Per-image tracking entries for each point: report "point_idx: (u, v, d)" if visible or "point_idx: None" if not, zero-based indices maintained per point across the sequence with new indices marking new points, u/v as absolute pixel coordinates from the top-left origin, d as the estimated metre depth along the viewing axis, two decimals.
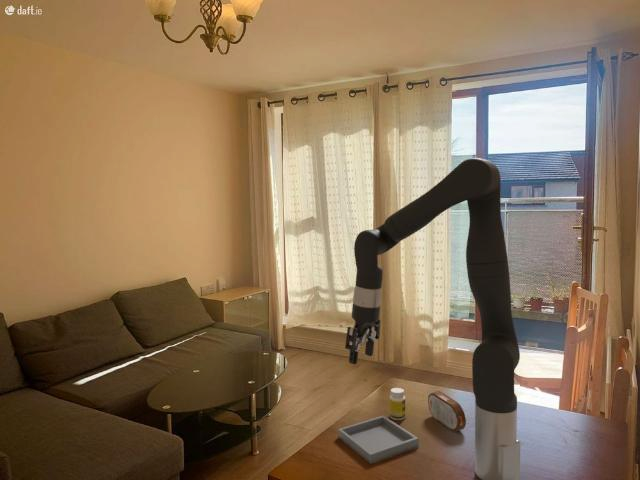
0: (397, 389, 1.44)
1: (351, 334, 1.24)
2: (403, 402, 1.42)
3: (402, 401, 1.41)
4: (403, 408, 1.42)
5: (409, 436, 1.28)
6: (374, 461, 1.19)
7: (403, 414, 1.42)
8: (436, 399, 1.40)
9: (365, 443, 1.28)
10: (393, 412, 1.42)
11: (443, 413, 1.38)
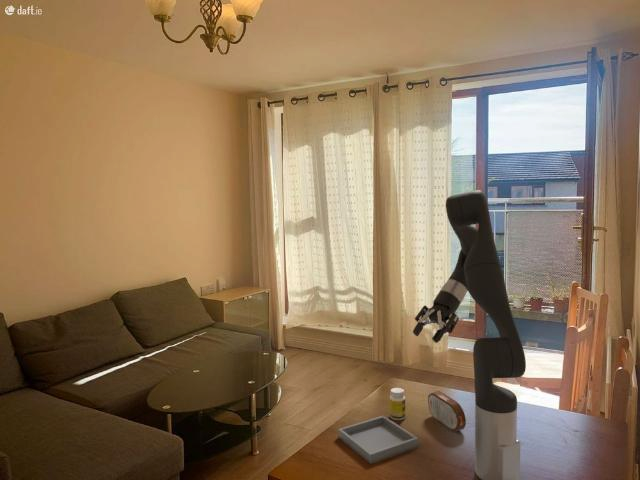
0: (397, 389, 1.44)
1: None
2: (403, 402, 1.42)
3: (402, 401, 1.41)
4: (403, 408, 1.42)
5: (409, 436, 1.28)
6: (374, 461, 1.19)
7: (403, 414, 1.42)
8: (436, 399, 1.40)
9: (365, 443, 1.28)
10: (393, 412, 1.42)
11: (442, 413, 1.38)
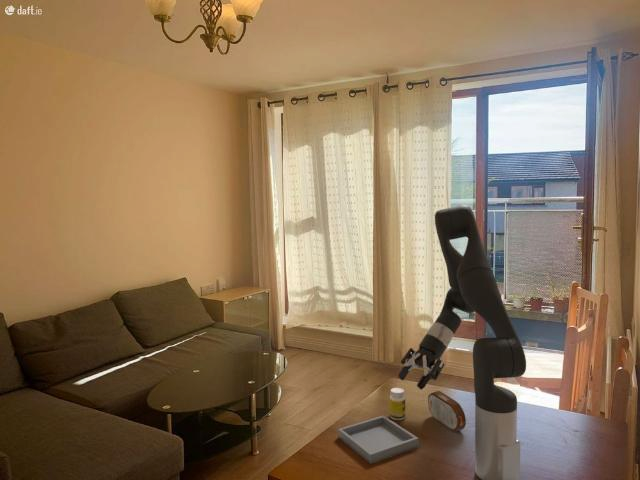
0: (397, 389, 1.44)
1: None
2: (403, 402, 1.42)
3: (402, 401, 1.41)
4: (403, 408, 1.42)
5: (409, 436, 1.28)
6: (374, 461, 1.19)
7: (403, 414, 1.42)
8: (436, 399, 1.40)
9: (365, 443, 1.28)
10: (393, 412, 1.42)
11: (443, 413, 1.38)
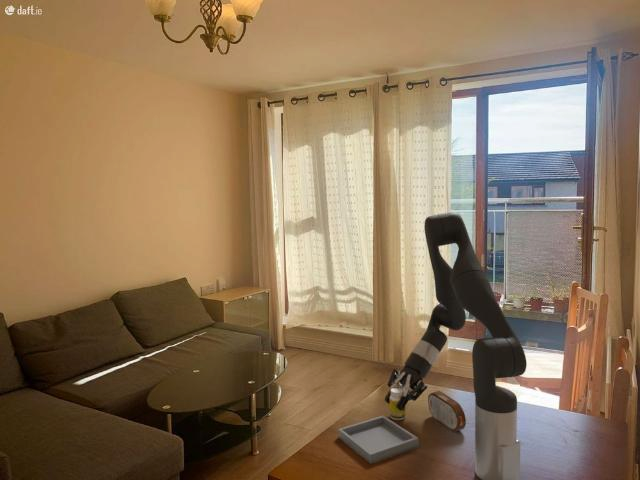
0: (397, 389, 1.44)
1: None
2: None
3: None
4: (403, 408, 1.42)
5: (409, 436, 1.28)
6: (374, 461, 1.19)
7: (403, 414, 1.42)
8: (436, 399, 1.40)
9: (365, 443, 1.28)
10: (393, 412, 1.42)
11: (443, 413, 1.38)
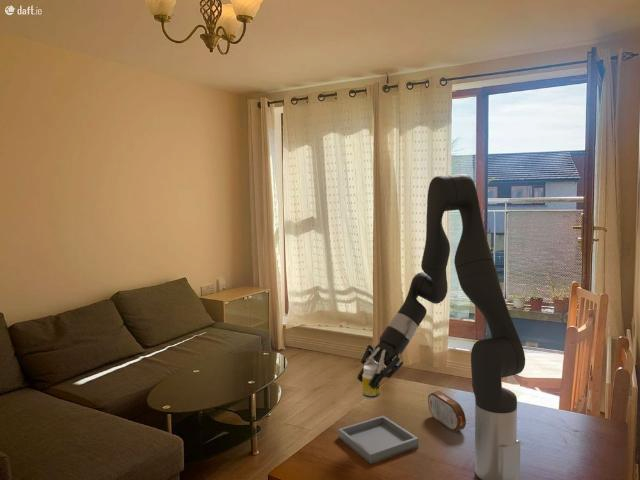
0: (370, 366, 1.31)
1: None
2: None
3: None
4: None
5: (409, 436, 1.28)
6: (374, 461, 1.19)
7: (377, 393, 1.29)
8: (436, 399, 1.40)
9: (365, 443, 1.28)
10: (365, 391, 1.29)
11: (443, 413, 1.38)
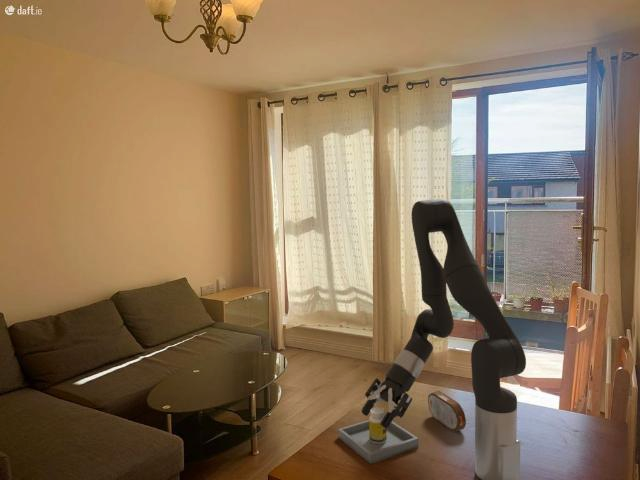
0: (377, 409, 1.29)
1: None
2: None
3: None
4: (383, 430, 1.27)
5: (409, 436, 1.28)
6: (374, 461, 1.19)
7: (384, 437, 1.28)
8: (436, 399, 1.40)
9: (365, 443, 1.28)
10: (372, 435, 1.28)
11: (443, 413, 1.38)
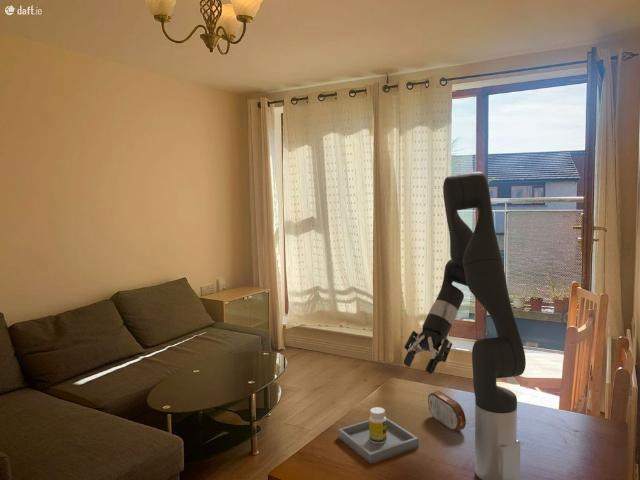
0: (377, 409, 1.29)
1: None
2: (384, 424, 1.27)
3: (382, 423, 1.27)
4: (383, 430, 1.27)
5: (409, 436, 1.28)
6: (374, 461, 1.19)
7: (384, 437, 1.28)
8: (436, 399, 1.40)
9: (365, 443, 1.28)
10: (372, 435, 1.28)
11: (443, 413, 1.38)
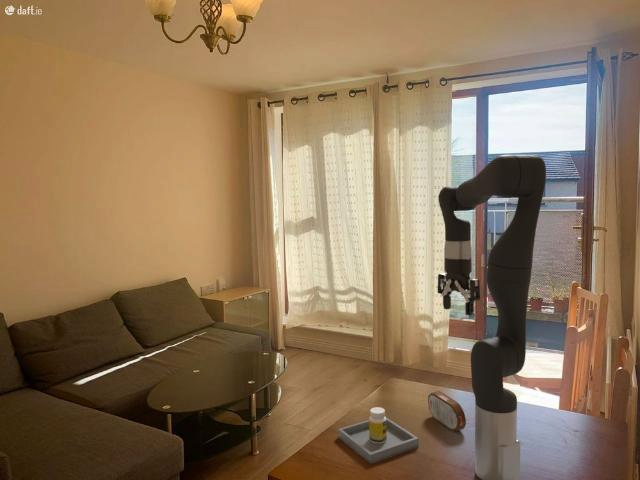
0: (377, 409, 1.29)
1: None
2: (384, 424, 1.27)
3: (382, 423, 1.27)
4: (383, 430, 1.27)
5: (409, 436, 1.28)
6: (374, 461, 1.19)
7: (384, 437, 1.28)
8: (436, 399, 1.40)
9: (365, 443, 1.28)
10: (372, 435, 1.28)
11: (443, 413, 1.38)
